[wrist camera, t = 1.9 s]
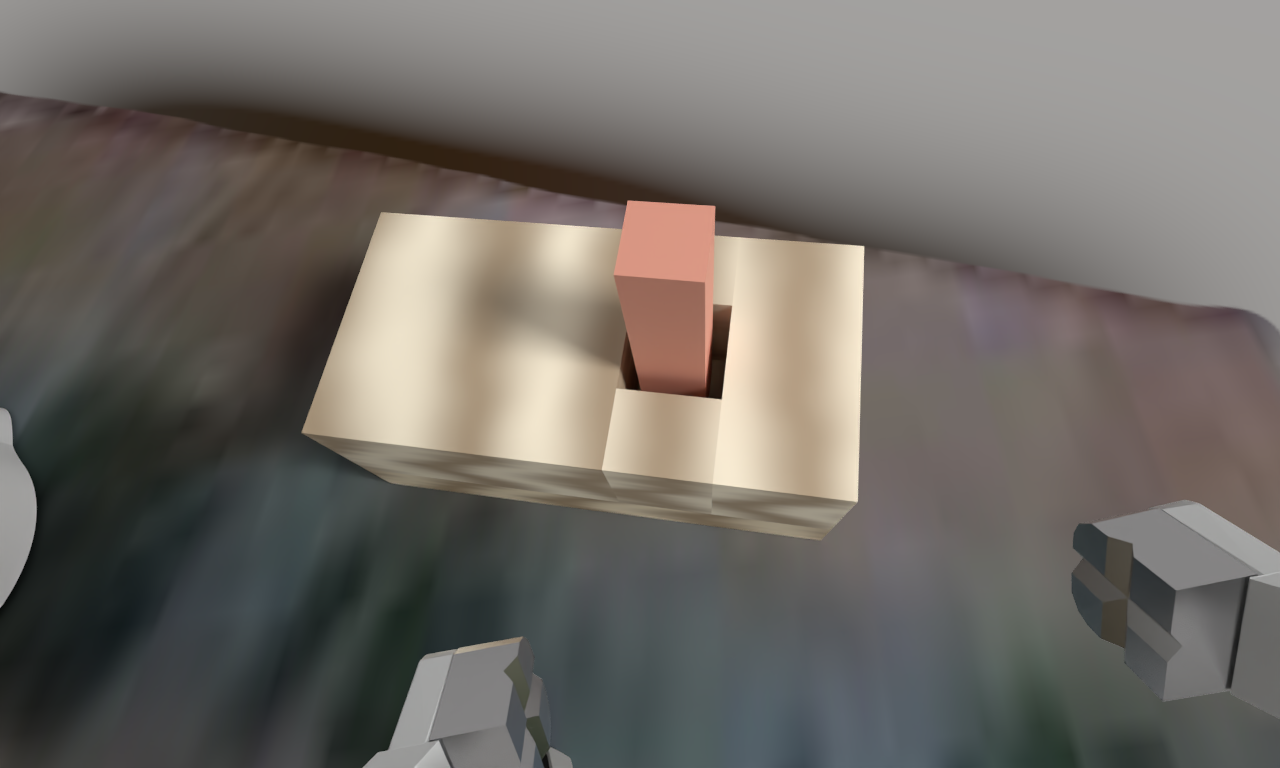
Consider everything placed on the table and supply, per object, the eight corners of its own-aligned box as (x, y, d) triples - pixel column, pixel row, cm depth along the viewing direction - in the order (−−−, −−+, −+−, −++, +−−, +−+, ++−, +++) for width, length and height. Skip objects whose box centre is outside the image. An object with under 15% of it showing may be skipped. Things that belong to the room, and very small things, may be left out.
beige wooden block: (390, 483, 37) (301, 432, 29) (446, 295, 42) (383, 206, 34) (820, 540, 34) (857, 501, 26) (830, 329, 39) (864, 239, 30)
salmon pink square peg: (648, 419, 34) (613, 274, 21) (656, 367, 35) (627, 200, 23) (705, 426, 34) (705, 282, 21) (711, 373, 35) (715, 206, 22)
